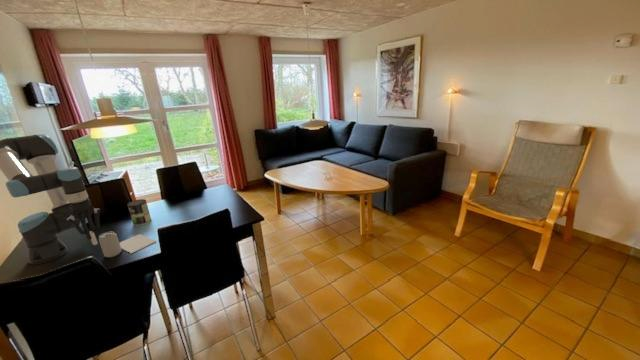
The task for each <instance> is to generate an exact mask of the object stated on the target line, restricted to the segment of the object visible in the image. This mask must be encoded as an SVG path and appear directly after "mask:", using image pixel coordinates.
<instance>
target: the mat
mask: <svg viewBox="0 0 640 360" xmlns="http://www.w3.org/2000/svg"><path fill="white" fill-rule="evenodd" d="M119 243H120V246H121V249H122V250H123V251H124V252H127V253H128V252H129V254H130V255H132V253H133V254H135V253H137V252H139V251H141V250H142V249H145V248H147V247H149V246H151V245H153V244H155V243H157V240H155V239H152V238H150V237H148V236H146V235H144V234H141V233H138V234H137V235H134V236H132V237H130V238H126V239H124V240H122V241H119ZM134 252H135V253H134Z"/></svg>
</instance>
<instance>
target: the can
mask: <svg viewBox="0 0 640 360" xmlns="http://www.w3.org/2000/svg"><path fill="white" fill-rule="evenodd" d="M98 241H99V242H98V244H99V245H100V247H101V250H102V253H103V256H104V257H105V258H113V257H117V256H119V255H120V254H121V252H122V250H123V249H121V246H120V241H119V237H118V234H117V233H115V232H114V231H112V230H111V231H107V232H103V233H101V234H100V235H99V236H98Z"/></svg>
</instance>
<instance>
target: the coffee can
mask: <svg viewBox="0 0 640 360" xmlns="http://www.w3.org/2000/svg"><path fill="white" fill-rule="evenodd" d="M126 206H127V208H128V212H129V214H130V217H131V220H132V224H133V226H143V225H147V224H149V223H150V222H152V218H151V214H150V210H149V206H148V204H147V200H146V199H144V198H139V199H134V200H132V201H129V202H128V203H127V205H126Z"/></svg>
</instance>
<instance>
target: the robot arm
mask: <svg viewBox="0 0 640 360" xmlns="http://www.w3.org/2000/svg"><path fill="white" fill-rule="evenodd" d="M57 154H59V149H58V147H57V145H56V144H55V142H54V141H53V139H52V138H51V137H50V136H49V135H47V134H33V135H23V136H17V137H16V136H14V137H8V138H3V139H0V171H1V172H2V173H3V174H4V176H5V177H6V179H7V180H8V181H7V182H5V186H6V189H7V191H8V193H9V194H10V196H11V197H12V198H20V197H27V196H29V195H34V194H38V193H42V192H44V191H45V192H46V193H47V196H48V197H49V199H50V201H51V203H52V207H51V212H47V211H41V212H37V213H33V214H30V215H27V216H26V217H23V218H22V219H21V220H20V221H18V223H17V228H18V230H19V231H18V232H19V233H20V235H21V236H22V239H23V241H24V242H25V246H26V248H27V261H28V263H29V264H30V265H32V266H33V265H34V266H37V265H42V264H46V263H49V262H52V261H54V260H57V259H59V258H61V257H63V256H64V255H65V254H66V253H68V250H69V249H68V247H67V245H66V244H65V243H64V242H63V241H62V240H60V239H59V237H58V234H61V233H65V232H67V231H70V230H73V229H76V231H77V232H78V233H79V234H80V235H85V236H86V238H87V240H89V241H91V244H92V245H93V246H96V245H98V244H99V242H98V239H97V237H98V238H99V236H98V233H97V230H99V229H100V228H101V221H100V220H101V219H100V214H101V208H95V207H94V206H93V205H92V202H91V199H90V198H89V194H88V192H87V189H86V186H85V184H84V180H83V177H82V174H81V172H80V170H79V168H78V167H75V166H71V167H64V168H59V167H58V165H57V162H56V161H55V160H56V159H57V156H58V155H57ZM22 160H24V161H25V160H26V162H27V163H28V164H30V165H32V166H33V168H34V169H35V171H36V173H37V175H33V174H32V173H31V172H30V170H29V169H28V167H26V166H25V165H24V163H23V162H22ZM93 213H94V220H93V217H92V215H93ZM88 226H89V227H88ZM89 228H90V229H89Z"/></svg>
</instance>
